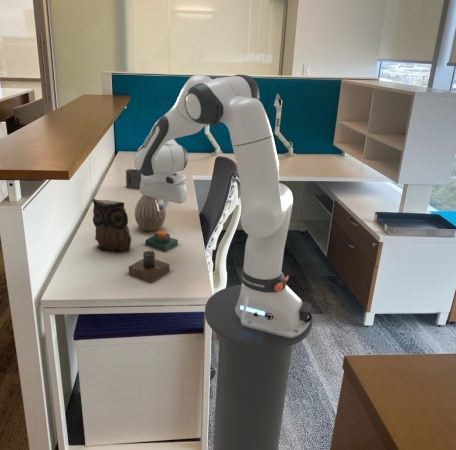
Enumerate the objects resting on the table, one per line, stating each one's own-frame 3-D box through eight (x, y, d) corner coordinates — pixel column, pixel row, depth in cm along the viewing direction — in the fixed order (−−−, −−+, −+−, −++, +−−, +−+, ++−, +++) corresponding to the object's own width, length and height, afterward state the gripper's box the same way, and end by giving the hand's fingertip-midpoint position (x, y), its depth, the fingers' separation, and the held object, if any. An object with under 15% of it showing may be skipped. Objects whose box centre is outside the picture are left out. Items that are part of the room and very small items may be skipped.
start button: (168, 236, 177) (168, 232, 176) (162, 239, 174) (162, 235, 173) (160, 234, 178) (160, 229, 178) (155, 236, 176) (155, 232, 175)
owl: (132, 252, 170) (131, 202, 163) (99, 257, 165) (96, 206, 158) (123, 239, 181) (122, 192, 173) (92, 243, 176) (89, 195, 168)
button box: (177, 244, 178) (177, 235, 177) (165, 251, 172) (165, 242, 170) (158, 238, 183) (158, 229, 181) (145, 244, 177) (145, 235, 175)
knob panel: (169, 271, 157) (169, 263, 156) (151, 282, 149) (151, 274, 148) (147, 263, 162) (147, 255, 161) (128, 274, 154) (128, 266, 153)
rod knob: (149, 268, 152) (149, 256, 150) (141, 265, 154) (140, 252, 152) (157, 264, 155) (157, 252, 153) (149, 261, 157) (148, 249, 155)
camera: (124, 187, 244) (124, 170, 240) (127, 185, 248) (126, 168, 244) (153, 190, 241) (152, 172, 237) (155, 188, 245) (155, 171, 241)
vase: (158, 236, 185) (158, 196, 178) (129, 232, 188) (128, 192, 181) (170, 225, 196) (170, 187, 190) (142, 221, 200) (142, 183, 193)
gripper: (135, 171, 169) (136, 206, 174) (179, 181, 158) (178, 217, 164) (146, 168, 174) (147, 201, 179) (189, 177, 163) (188, 212, 168)
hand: (162, 209), depth 171 cm, fingers closed
